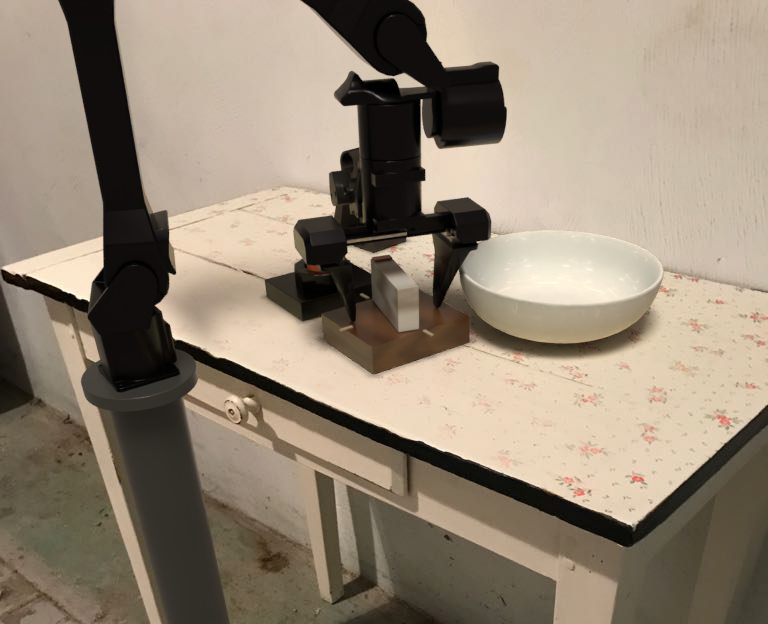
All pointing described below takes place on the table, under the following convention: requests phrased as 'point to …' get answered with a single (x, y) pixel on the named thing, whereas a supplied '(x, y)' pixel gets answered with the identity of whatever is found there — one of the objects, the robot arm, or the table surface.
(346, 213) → the phone stand
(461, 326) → the brown wooden block base
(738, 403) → the table surface
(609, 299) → the serving bowl
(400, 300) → the silver metal brick
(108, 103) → the robot arm
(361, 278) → the button block
